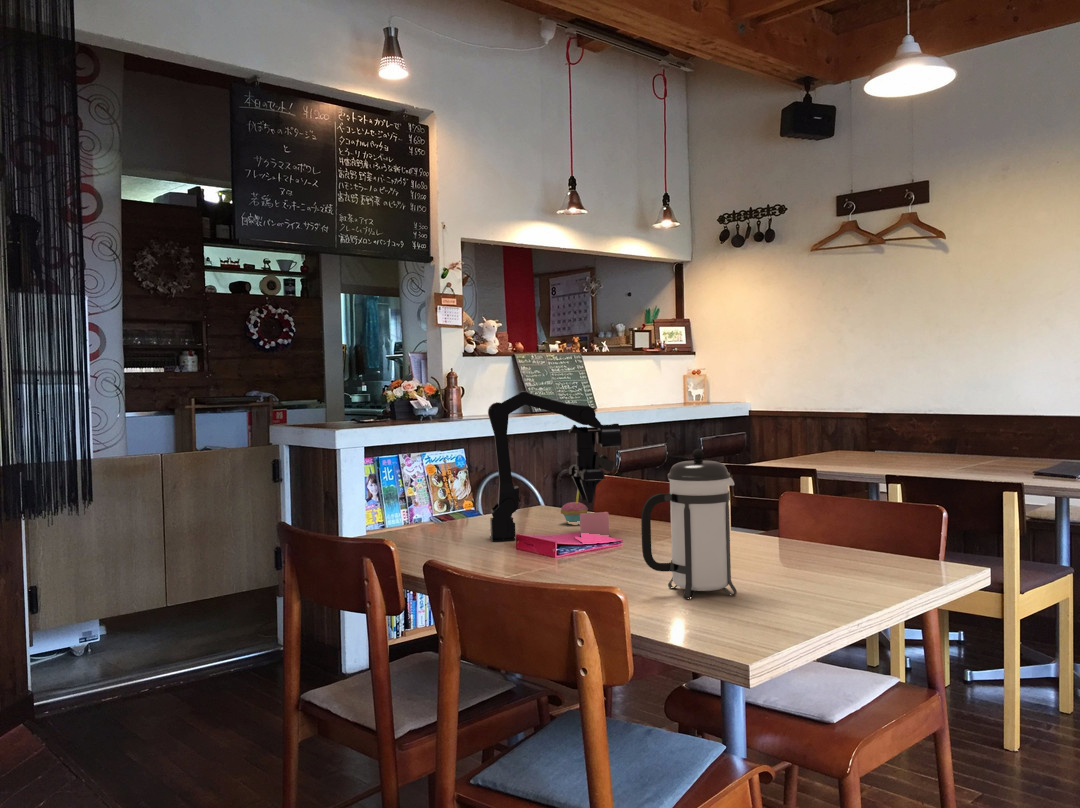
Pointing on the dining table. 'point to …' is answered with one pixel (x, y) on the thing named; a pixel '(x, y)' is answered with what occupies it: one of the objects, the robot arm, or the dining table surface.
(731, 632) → the dining table surface
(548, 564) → the dining table surface
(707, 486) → the coffee press
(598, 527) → the pink rectangular block
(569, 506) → the cupcake
